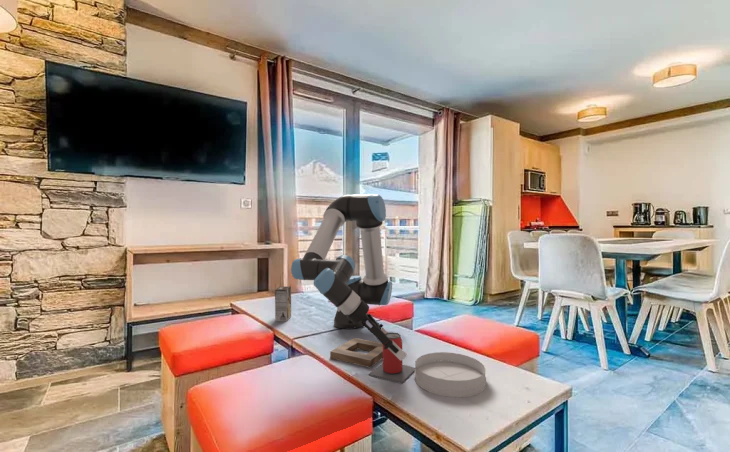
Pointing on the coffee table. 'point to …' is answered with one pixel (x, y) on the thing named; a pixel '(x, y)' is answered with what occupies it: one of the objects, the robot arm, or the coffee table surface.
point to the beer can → (392, 356)
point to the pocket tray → (357, 358)
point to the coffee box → (283, 303)
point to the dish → (450, 374)
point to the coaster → (393, 377)
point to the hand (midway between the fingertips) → (398, 349)
